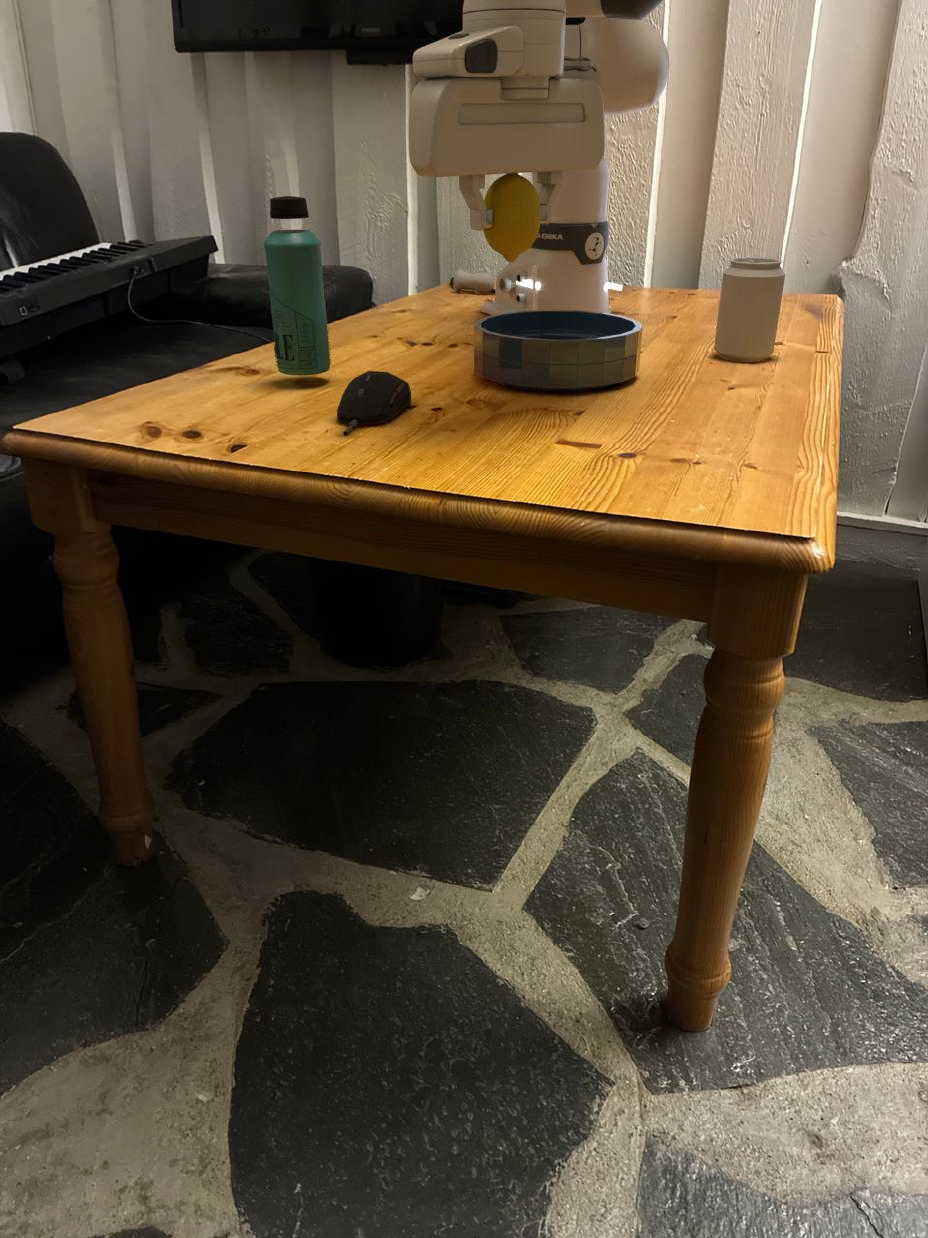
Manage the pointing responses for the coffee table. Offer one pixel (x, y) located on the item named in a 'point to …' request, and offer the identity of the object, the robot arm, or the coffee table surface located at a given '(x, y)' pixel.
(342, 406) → the gaming mouse
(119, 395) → the coffee table surface
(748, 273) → the can
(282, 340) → the beverage bottle
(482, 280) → the smooth white sculpture
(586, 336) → the bowl
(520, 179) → the lemon
